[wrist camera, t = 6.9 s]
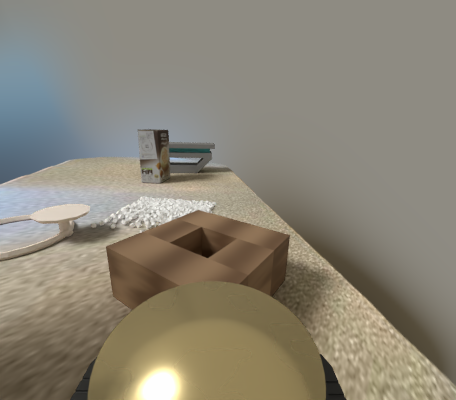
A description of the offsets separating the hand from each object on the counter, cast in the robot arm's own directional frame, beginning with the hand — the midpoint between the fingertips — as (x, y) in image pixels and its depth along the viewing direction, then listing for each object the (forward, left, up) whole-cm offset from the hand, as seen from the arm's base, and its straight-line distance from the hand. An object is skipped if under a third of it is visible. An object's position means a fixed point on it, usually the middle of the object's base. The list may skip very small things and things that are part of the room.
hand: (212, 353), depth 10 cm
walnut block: (-11, +12, -9) cm, 18 cm away
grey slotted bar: (-64, +62, -9) cm, 89 cm away
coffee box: (-59, +45, -9) cm, 74 cm away
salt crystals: (-33, +25, -10) cm, 42 cm away
